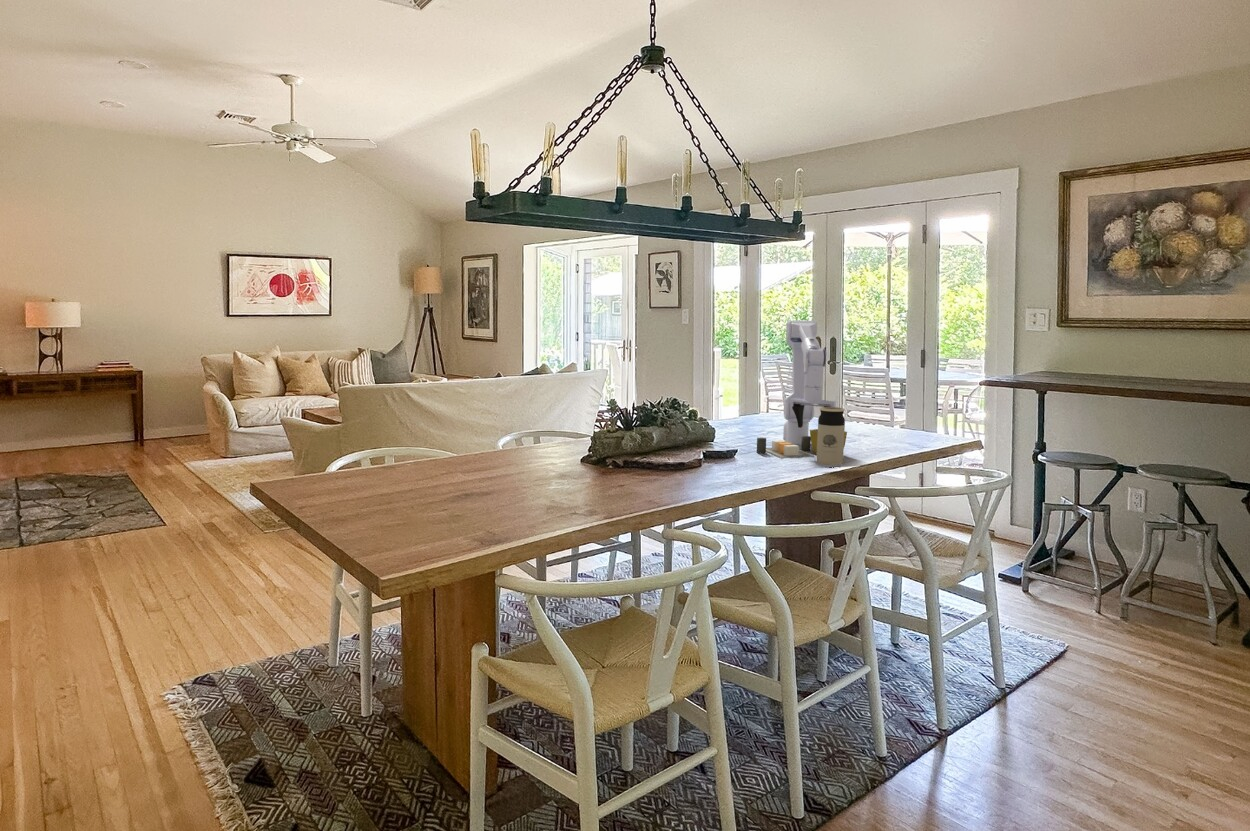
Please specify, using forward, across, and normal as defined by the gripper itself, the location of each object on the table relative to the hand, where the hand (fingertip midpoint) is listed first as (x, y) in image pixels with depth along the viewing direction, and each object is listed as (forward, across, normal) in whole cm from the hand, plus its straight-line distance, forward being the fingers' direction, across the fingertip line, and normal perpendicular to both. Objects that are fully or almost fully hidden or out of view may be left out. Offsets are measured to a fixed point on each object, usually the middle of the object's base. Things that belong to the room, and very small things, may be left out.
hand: (811, 428), depth 257 cm
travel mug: (+10, +9, -8) cm, 16 cm away
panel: (+10, -9, 0) cm, 13 cm away
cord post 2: (+10, -4, +6) cm, 12 cm away
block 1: (+9, -12, +3) cm, 15 cm away
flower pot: (+10, +4, +5) cm, 12 cm away
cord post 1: (+10, -15, -6) cm, 19 cm away
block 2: (+9, -9, 0) cm, 12 cm away
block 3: (+9, -5, -4) cm, 11 cm away
